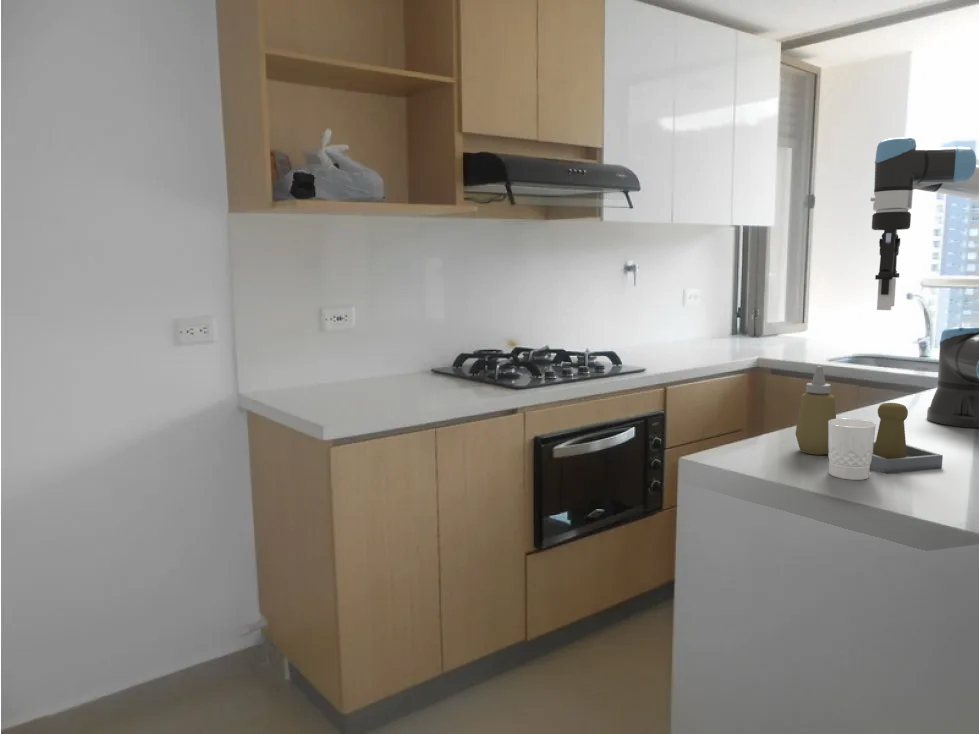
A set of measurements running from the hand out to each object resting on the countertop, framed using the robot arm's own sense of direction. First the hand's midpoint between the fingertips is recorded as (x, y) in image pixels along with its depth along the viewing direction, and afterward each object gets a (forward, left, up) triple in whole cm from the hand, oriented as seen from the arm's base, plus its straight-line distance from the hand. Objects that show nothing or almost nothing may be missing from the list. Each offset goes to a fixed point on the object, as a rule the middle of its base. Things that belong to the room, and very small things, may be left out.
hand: (885, 308), depth 168 cm
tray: (+16, +21, -29) cm, 39 cm away
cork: (+16, +21, -28) cm, 39 cm away
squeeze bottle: (+24, +10, -29) cm, 39 cm away
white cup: (+30, +26, -29) cm, 49 cm away
